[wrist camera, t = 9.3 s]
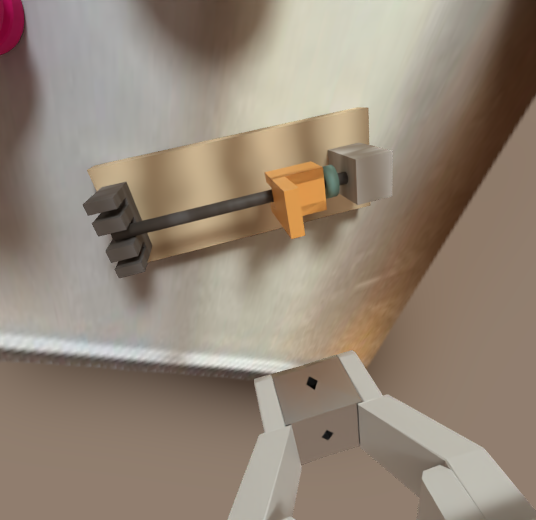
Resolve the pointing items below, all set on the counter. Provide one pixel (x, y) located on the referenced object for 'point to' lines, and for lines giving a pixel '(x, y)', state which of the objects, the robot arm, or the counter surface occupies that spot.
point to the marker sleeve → (296, 195)
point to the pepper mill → (10, 24)
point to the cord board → (230, 186)
